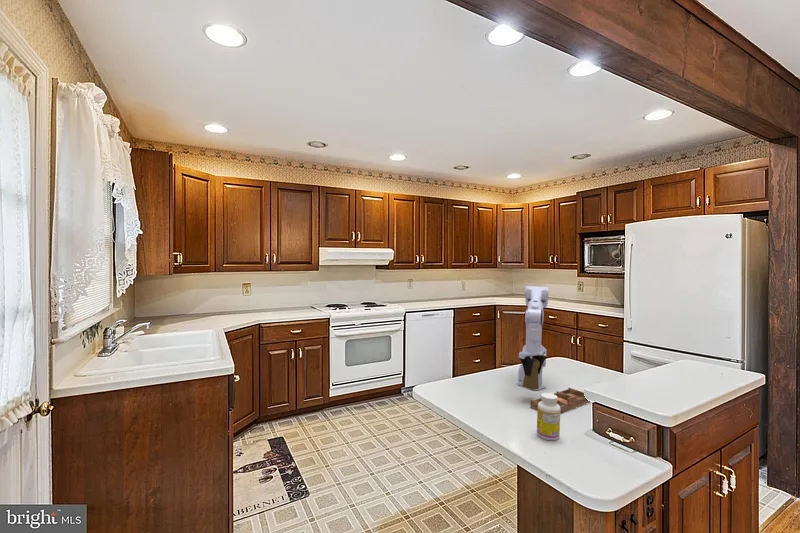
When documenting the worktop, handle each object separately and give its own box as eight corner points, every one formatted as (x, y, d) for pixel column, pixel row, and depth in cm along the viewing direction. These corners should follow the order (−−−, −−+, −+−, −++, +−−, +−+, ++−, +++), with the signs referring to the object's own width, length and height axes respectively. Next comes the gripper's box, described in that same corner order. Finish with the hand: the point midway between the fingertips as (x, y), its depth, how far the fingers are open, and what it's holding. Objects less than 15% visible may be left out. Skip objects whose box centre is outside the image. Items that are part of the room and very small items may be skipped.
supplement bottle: (538, 429, 119) (540, 390, 119) (560, 434, 116) (562, 394, 116) (534, 437, 113) (536, 396, 113) (557, 443, 110) (559, 401, 110)
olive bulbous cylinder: (540, 390, 139) (542, 362, 139) (523, 388, 140) (526, 360, 140) (537, 385, 145) (539, 357, 145) (521, 383, 146) (523, 355, 146)
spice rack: (530, 407, 136) (530, 395, 136) (568, 394, 150) (569, 383, 150) (552, 416, 129) (552, 404, 129) (590, 402, 143) (591, 390, 143)
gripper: (530, 344, 135) (528, 380, 135) (554, 339, 143) (552, 374, 143) (514, 340, 141) (513, 375, 141) (538, 336, 149) (537, 369, 149)
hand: (532, 374), depth 143 cm, fingers closed on olive bulbous cylinder, 5 cm apart
